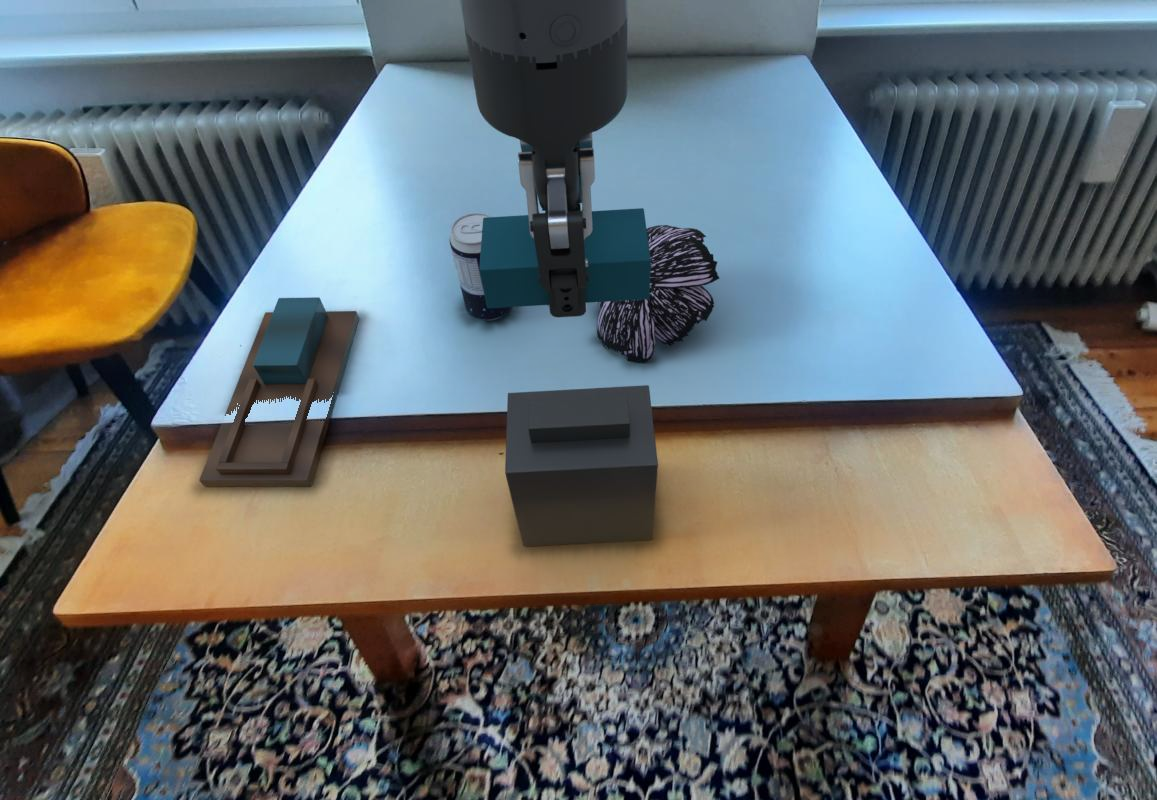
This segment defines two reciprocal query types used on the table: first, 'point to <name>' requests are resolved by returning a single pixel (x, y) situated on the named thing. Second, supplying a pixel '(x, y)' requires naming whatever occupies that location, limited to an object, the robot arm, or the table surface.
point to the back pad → (609, 249)
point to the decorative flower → (662, 296)
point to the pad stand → (582, 465)
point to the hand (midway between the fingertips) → (567, 281)
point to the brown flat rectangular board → (275, 370)
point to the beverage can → (471, 265)
